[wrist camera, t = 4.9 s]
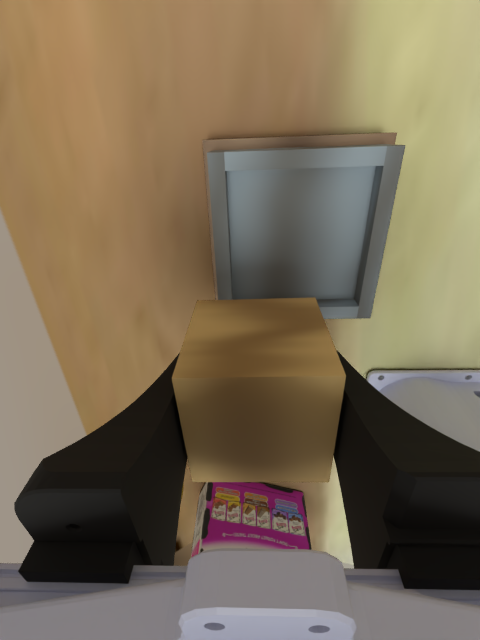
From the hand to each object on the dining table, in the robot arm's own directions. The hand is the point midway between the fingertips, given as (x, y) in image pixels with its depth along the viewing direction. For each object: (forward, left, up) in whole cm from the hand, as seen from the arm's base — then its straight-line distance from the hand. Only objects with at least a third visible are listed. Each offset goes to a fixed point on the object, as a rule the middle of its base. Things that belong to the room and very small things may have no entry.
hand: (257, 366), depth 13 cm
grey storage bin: (-2, -3, -10) cm, 11 cm away
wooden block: (0, 0, -1) cm, 1 cm away
